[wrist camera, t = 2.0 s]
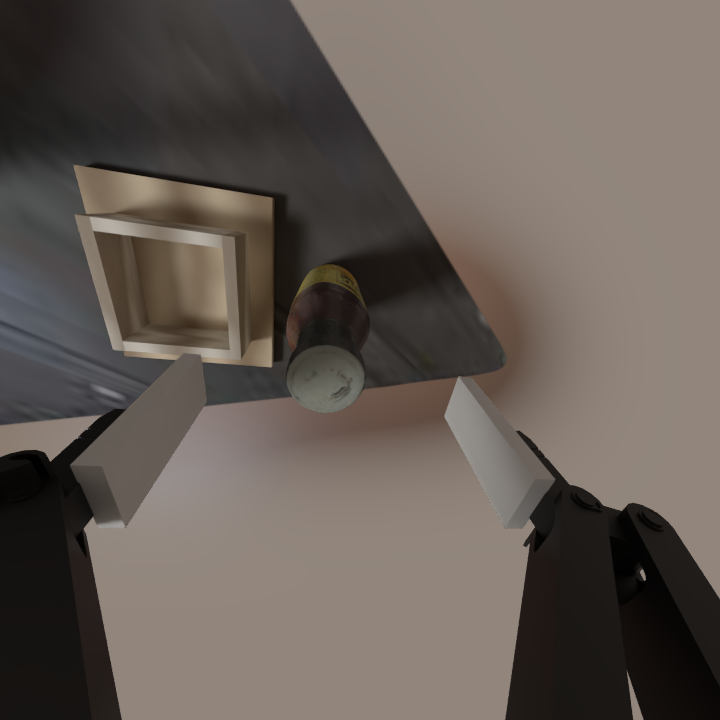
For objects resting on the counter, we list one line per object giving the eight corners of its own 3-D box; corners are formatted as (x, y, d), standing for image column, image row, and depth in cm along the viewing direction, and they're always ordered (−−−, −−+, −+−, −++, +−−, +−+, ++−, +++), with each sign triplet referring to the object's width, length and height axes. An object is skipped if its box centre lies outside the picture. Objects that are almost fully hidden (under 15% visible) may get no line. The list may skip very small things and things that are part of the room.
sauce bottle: (362, 309, 33) (400, 424, 16) (311, 322, 33) (291, 449, 16) (349, 251, 30) (379, 316, 13) (292, 265, 30) (244, 348, 13)
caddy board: (131, 351, 33) (96, 377, 28) (84, 166, 25) (22, 156, 20) (273, 362, 35) (264, 388, 30) (274, 198, 27) (262, 196, 22)
